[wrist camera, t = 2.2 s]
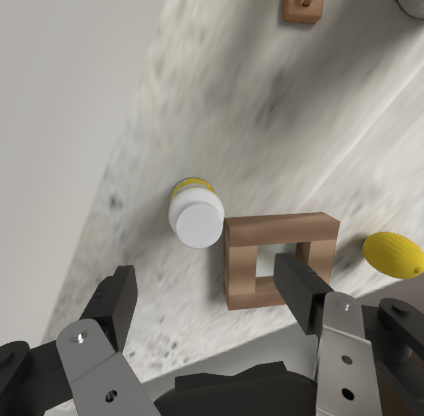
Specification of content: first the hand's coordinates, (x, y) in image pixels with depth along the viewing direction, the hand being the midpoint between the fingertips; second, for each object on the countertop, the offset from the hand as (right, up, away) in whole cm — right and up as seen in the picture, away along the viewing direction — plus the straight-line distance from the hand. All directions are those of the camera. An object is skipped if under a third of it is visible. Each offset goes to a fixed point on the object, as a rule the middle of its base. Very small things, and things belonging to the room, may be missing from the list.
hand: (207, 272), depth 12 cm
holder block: (+9, -3, +19) cm, 21 cm away
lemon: (+24, -1, +21) cm, 32 cm away
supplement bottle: (-2, +5, +15) cm, 16 cm away
